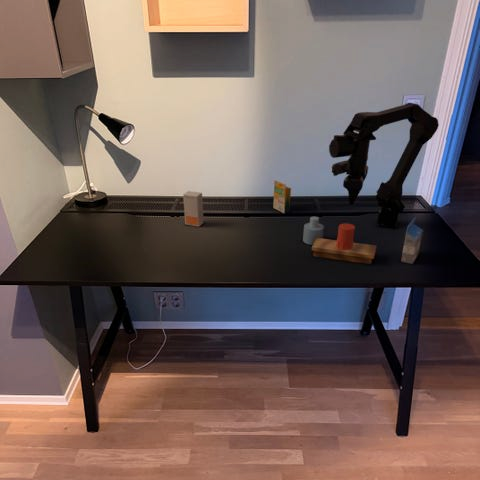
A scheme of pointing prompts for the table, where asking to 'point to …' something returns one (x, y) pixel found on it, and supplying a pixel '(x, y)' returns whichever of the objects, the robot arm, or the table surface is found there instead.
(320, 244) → the brown long block
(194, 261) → the table surface
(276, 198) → the crayon box
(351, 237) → the red cylinder
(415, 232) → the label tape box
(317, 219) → the light gray cylinder
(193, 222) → the cosmetic box
